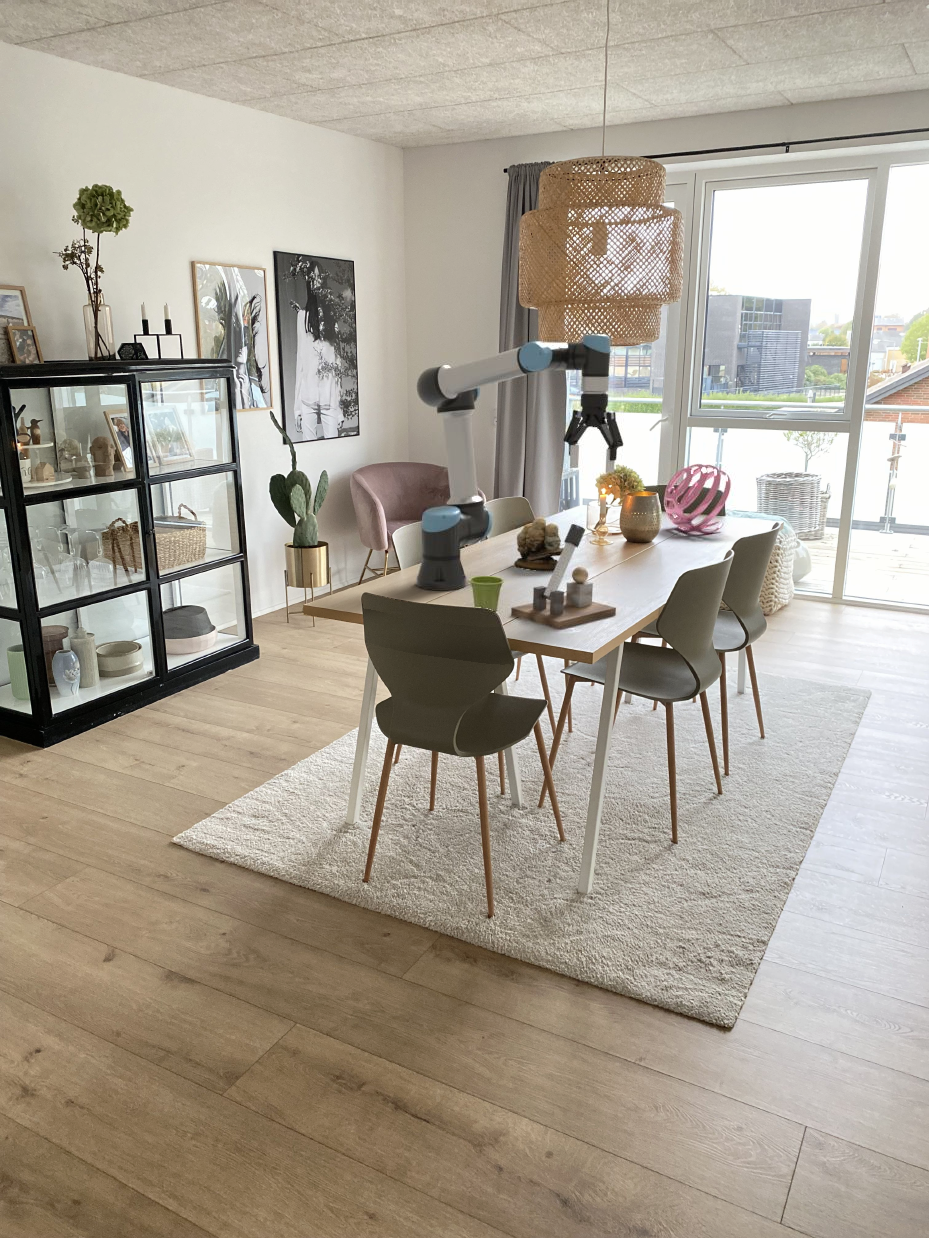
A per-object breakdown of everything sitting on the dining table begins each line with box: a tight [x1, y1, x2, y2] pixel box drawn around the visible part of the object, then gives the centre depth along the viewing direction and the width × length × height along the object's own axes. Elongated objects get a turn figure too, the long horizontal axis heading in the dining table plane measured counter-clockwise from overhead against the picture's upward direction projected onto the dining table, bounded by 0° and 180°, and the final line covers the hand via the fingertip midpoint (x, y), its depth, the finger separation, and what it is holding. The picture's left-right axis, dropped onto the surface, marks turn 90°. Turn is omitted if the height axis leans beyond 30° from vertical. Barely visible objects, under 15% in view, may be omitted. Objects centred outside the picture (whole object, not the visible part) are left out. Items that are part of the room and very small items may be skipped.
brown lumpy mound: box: [513, 516, 564, 572], centre depth 312 cm, size 18×12×17 cm, turn 60°
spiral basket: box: [663, 463, 732, 535], centre depth 375 cm, size 28×28×27 cm
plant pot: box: [469, 575, 504, 612], centre depth 260 cm, size 9×9×9 cm
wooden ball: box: [571, 566, 589, 583], centre depth 257 cm, size 4×4×4 cm
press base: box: [510, 580, 617, 630], centre depth 255 cm, size 18×22×8 cm
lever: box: [542, 523, 586, 600], centre depth 252 cm, size 4×4×21 cm
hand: (591, 470), depth 266 cm, fingers open, 13 cm apart
